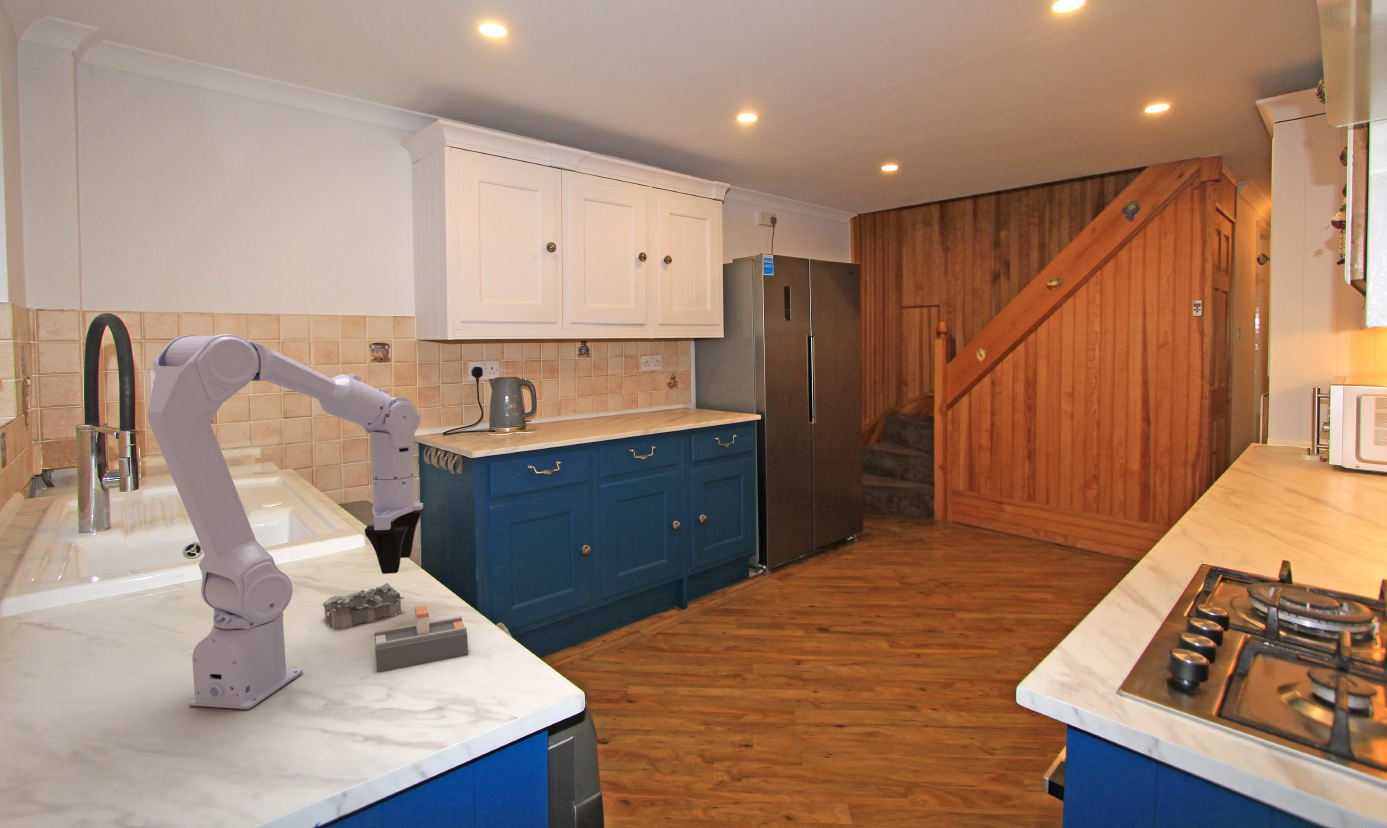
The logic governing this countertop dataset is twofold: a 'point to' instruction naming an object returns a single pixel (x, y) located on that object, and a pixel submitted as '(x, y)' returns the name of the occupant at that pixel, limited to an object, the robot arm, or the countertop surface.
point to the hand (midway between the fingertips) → (396, 564)
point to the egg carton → (362, 606)
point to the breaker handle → (422, 620)
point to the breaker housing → (420, 644)
